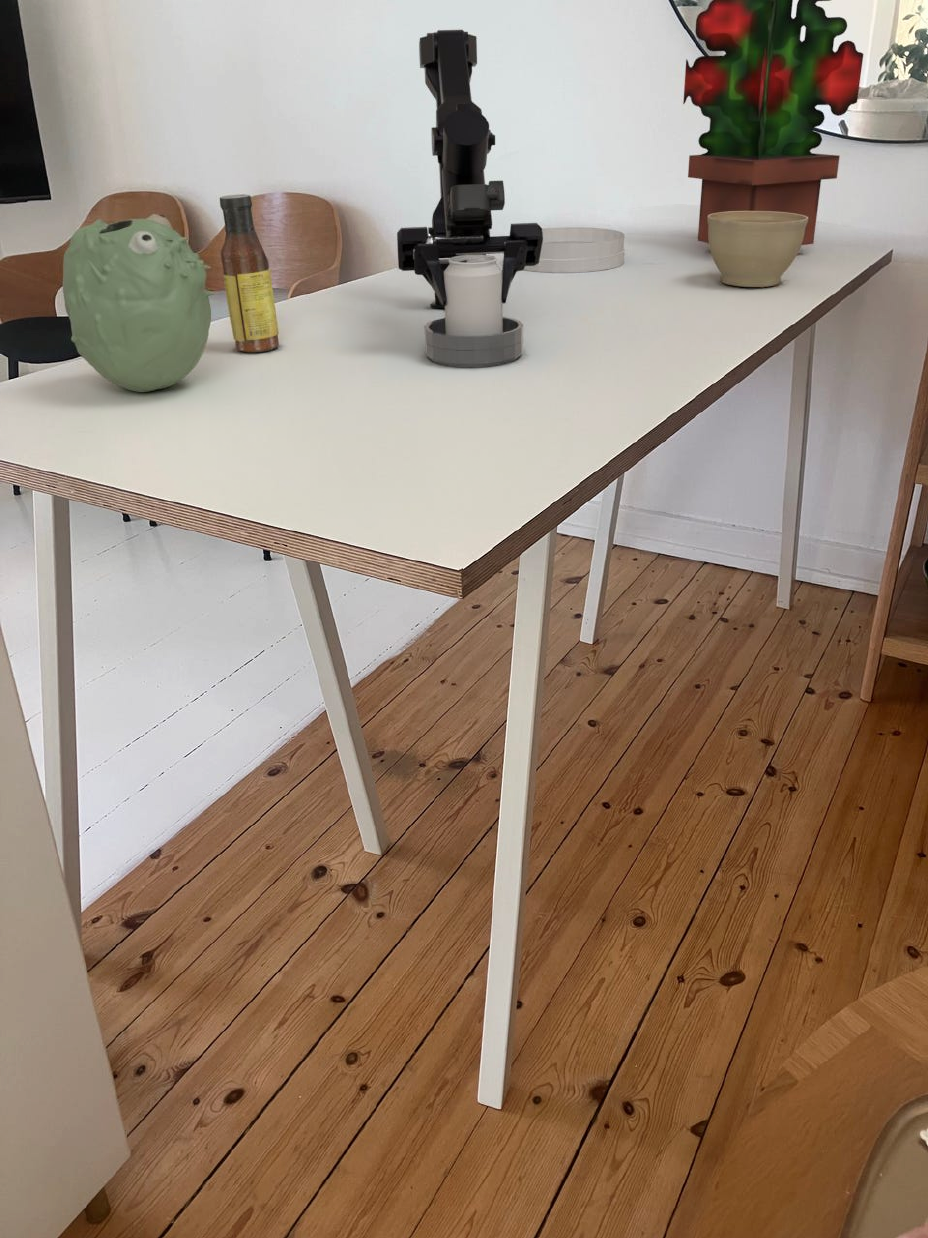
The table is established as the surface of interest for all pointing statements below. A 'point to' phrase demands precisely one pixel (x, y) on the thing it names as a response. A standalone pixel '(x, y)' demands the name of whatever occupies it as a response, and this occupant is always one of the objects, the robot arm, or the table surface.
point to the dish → (579, 250)
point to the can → (473, 296)
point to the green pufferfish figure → (136, 301)
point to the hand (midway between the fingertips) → (474, 302)
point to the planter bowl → (754, 245)
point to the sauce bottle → (247, 279)
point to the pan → (474, 345)
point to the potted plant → (767, 105)
